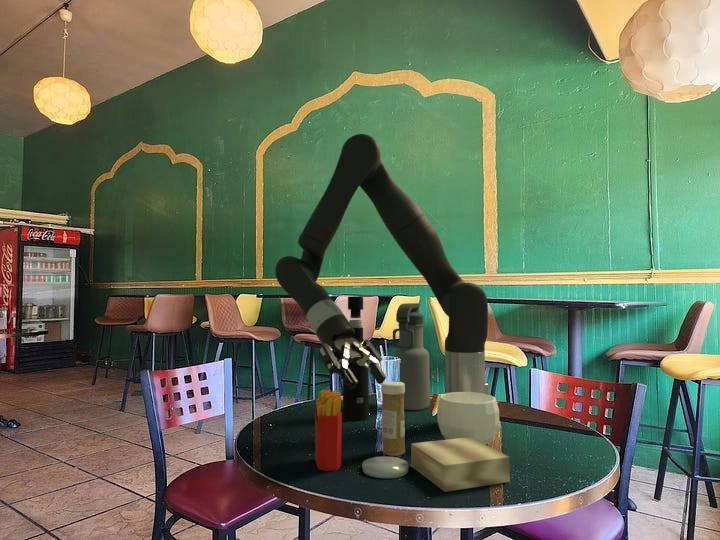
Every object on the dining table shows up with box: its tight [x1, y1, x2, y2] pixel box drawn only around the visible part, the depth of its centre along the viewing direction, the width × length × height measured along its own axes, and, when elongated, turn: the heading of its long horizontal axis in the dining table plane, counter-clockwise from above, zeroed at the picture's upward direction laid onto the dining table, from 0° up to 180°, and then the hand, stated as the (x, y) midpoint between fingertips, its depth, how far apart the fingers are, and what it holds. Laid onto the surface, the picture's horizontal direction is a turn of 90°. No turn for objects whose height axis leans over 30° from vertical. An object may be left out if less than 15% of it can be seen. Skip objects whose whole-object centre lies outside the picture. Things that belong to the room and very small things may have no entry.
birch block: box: [410, 437, 511, 493], centre depth 84 cm, size 12×12×4 cm
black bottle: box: [342, 296, 370, 422], centre depth 123 cm, size 6×6×30 cm
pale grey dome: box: [361, 456, 409, 479], centre depth 86 cm, size 8×8×1 cm
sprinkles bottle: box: [380, 380, 406, 457], centre depth 96 cm, size 5×5×13 cm
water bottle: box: [392, 302, 431, 411], centre depth 135 cm, size 10×10×28 cm
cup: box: [436, 392, 500, 445], centre depth 100 cm, size 12×12×10 cm
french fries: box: [314, 389, 343, 472], centre depth 89 cm, size 9×4×13 cm, turn 13°
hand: (369, 384), depth 100 cm, fingers open, 8 cm apart
